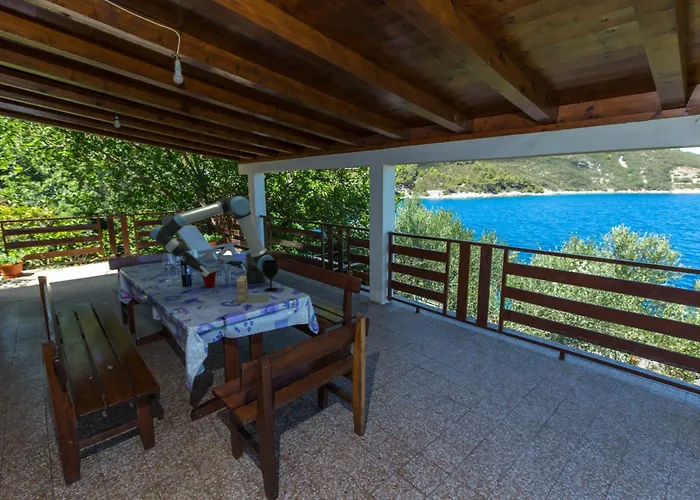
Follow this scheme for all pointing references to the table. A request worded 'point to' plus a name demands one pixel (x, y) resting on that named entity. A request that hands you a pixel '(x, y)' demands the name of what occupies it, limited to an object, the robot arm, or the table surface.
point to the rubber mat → (255, 299)
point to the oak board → (242, 288)
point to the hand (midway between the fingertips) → (207, 275)
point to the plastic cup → (210, 278)
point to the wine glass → (270, 272)
